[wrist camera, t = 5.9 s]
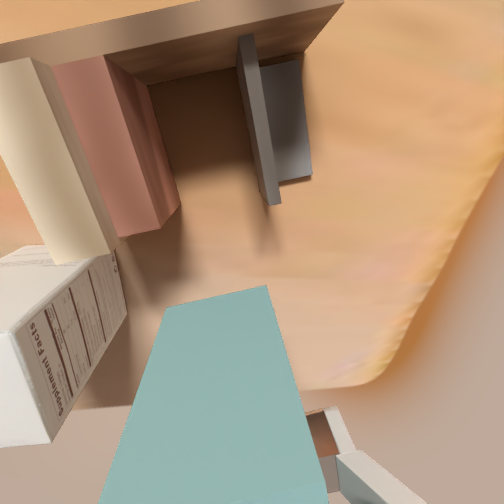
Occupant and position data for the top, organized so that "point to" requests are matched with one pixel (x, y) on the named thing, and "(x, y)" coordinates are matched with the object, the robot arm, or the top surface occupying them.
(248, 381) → the boxed book
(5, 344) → the supplement box
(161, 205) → the book stack with bookend
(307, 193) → the top surface
